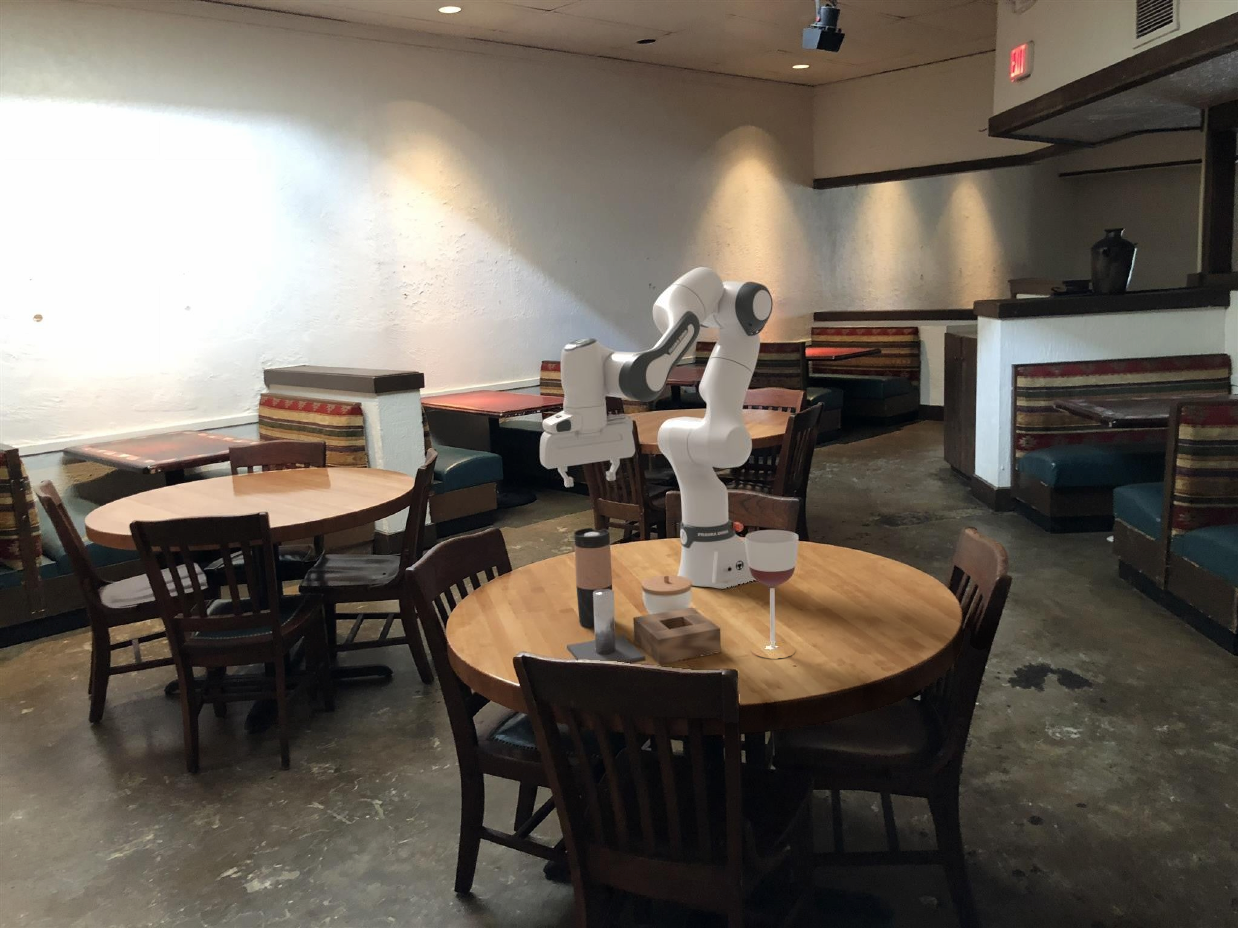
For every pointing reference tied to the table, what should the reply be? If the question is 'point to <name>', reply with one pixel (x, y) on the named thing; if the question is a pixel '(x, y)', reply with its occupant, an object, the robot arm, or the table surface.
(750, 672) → the table surface
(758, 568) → the wineglass
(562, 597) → the table surface
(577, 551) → the travel mug
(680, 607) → the lidded jar
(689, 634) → the block
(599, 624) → the peg
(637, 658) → the mat
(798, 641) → the table surface
